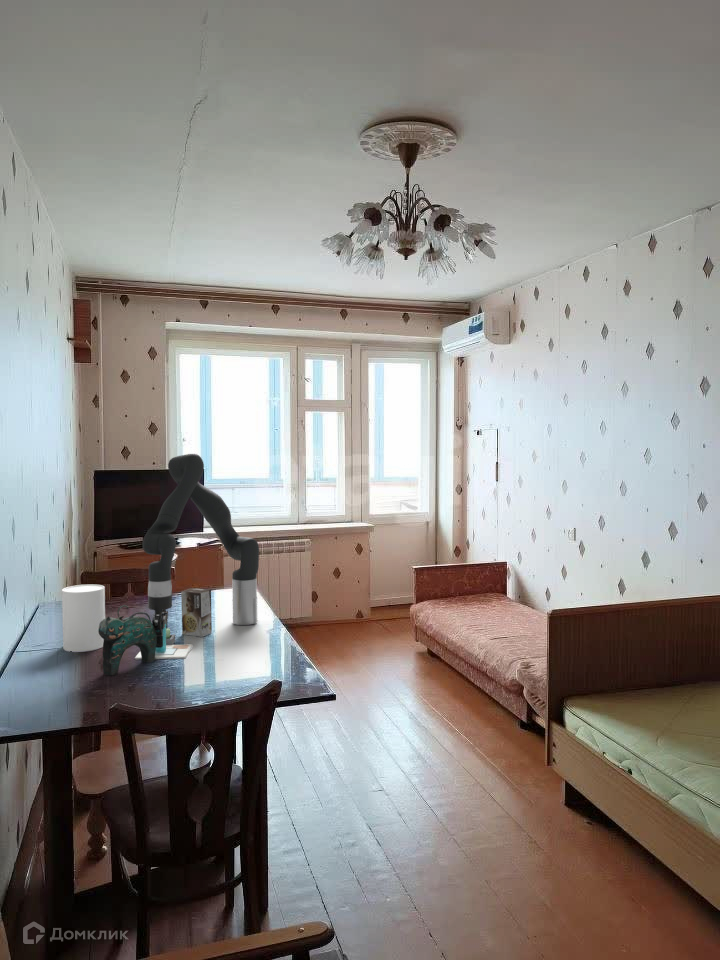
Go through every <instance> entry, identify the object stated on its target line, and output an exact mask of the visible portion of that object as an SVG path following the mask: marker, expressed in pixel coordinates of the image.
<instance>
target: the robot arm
mask: <svg viewBox="0 0 720 960" xmlns="http://www.w3.org/2000/svg"><path fill="white" fill-rule="evenodd" d="M167 465H168V468H167V469H168V472H169V474H170V476H171V478H172V479H173V480H174V482H175V483H176V484H177V486H175V488H174V490H173V491H172V492H171V493H170V494H169V495H168V497H167V498H166V499H165V500H164V502H163V504H162V505H161V508H160V509H159V512H158V516H157V519H156V520H155V521H154V522H153V524H152V525H151V527H150V528H149V529H148V530H147V532H146V534H145V535H144V537H143V540H142V550H143V551H144V553H145V554H148V555H153V556H154V555H156V556H160V559H159V561H158V560H156V561H153V562H151V563H149V565H148V584H147V585H148V586H147V601H148V602H147V603H148V604H147V605H148V609H150V610H151V611H152V610H153V611H154V614H152V620H151V623H152V624H153V626H154V629H155V631H156V637H157V644H156V647H157V648H160V647H163V629H164V628H165V620H166V629H167V628H168V619H169V611H168V610H169V609H171V608H172V607H173V594H172V593H173V590H172V589H173V587H172V586H173V585H172V574H171V572H172V571H171V570H172V569H171V567H172V563H173V558H174V555H175V551H176V548H177V542H176V538H175V537H174V535H173V534H171V532H174V531H176V529H177V528H178V525H179V522H180V519H181V517H182V514H183V511H184V509H185V506H186V504H187V503H188V501H189V498H190V501H192V503H194V505H195V506H196V508H197V509H198V510H199V512H200V513H201V515H202V516H203V518H204V519H205V520H206V522H207V523H208V524H209V525H210V527H211V528H212V530H213V531H214V533H215V534H216V536H217V537H218V538H219V539H220V542H221V544H222V545H223V547H224V549H225V550H226V552H227V554H228V555H229V557H231V559H233V560H235V561H239V562H240V564H239V565H240V567H239V568H238V569H236V570H234V571H233V572H232V576H231V577H232V579H231V581H232V582H231V583H232V584H231V585H232V586H231V587H232V623H233V624H234V625H236V626H237V625H238V626H248V625H249V626H250V625H257V622H258V595H257V594H258V593H257V592H258V590H257V589H258V586H257V584H258V583H257V582H258V581H257V574H258V571H259V563H260V559H259V558H260V546H259V543H258V541H257V540H256V539H255V538H254V537H248V536H247V537H246V536H241V535H239V533H238V532H237V531H236V530H235V529H234V527H233V525H232V514H231V510H230V508H229V507H228V506H227V504H226V502H225V501H224V499H223V498H222V497H221V496H220V495H219V494H218V493H216V492H215V491H213V490H211V489H210V488H208V487H207V486H205V485H203V484H201V483H200V480H201V478H202V476H203V473H204V470H205V469H204V468H205V465H204V460H203V459H202V457H201V456H200V455H199V454H198V453H187V454H186V453H185V454H183V455H182V454H181V455H177V456H174V457H171V458H170V459H169V461H168V464H167ZM161 625H162V626H161ZM157 630H159V632H157Z"/></svg>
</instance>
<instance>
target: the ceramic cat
mask: <svg viewBox="0 0 720 960" xmlns="http://www.w3.org/2000/svg"><path fill="white" fill-rule="evenodd" d="M123 607H125V608H127V610H128V609H129V606H128V605H125V604H124V605H121V606H119V607H118V609H117V618H116V617H110V616H107V617H105V619H103V620H102V621H101V622H100V624H99V630H98V632H99V635H100V636H101V637H102V638H103V639H104V642H103V647H102V672H103V673H102V674H103V675H105V674H106V675H105V676H109V675H110V677H112V676H116V675H118V674H119V670H120V669H119V668H120V663H121V660H122V658H123V655H124V654H125V652H126V650H127V649H129V648H131V647H133V646H136V647H138V648H139V652H140V651H141V657H142V659H141V662H142V663H145V664H149V663H153V662H155V660H156V659H155V652H156V644H157V637H156V631H155V629H154V626H153V624H152V620H151V618H150V617H151V616H150V615H149V613H147V612H135V613H134V614H132V615H130V616H128V617H125V618H124V615H122V616H121V615H120V614H119V612H120V610H121V609H122V608H123ZM136 615H145V616H147V617H148V618H146V617H143V616H142V617H141V616H136ZM111 675H112V676H111Z"/></svg>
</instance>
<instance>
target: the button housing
mask: <svg viewBox="0 0 720 960" xmlns="http://www.w3.org/2000/svg"><path fill="white" fill-rule="evenodd" d="M175 642H176V634H170V639H166V645H175Z"/></svg>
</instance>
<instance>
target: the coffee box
mask: <svg viewBox="0 0 720 960" xmlns="http://www.w3.org/2000/svg"><path fill="white" fill-rule="evenodd" d="M180 595H181V596H180V597H181V629H182V631H181V634H182V635H183V636H184V635H185V636H192V637H200V638H202V637H205V636H209V635H211V634H212V633H213V632H212V631H213V628H212V623H213V622H212V620H213V619H212V589H208V588H196V587H193V588H192V587H190V588H187V589H184V590H182V591H181V592H180Z"/></svg>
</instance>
